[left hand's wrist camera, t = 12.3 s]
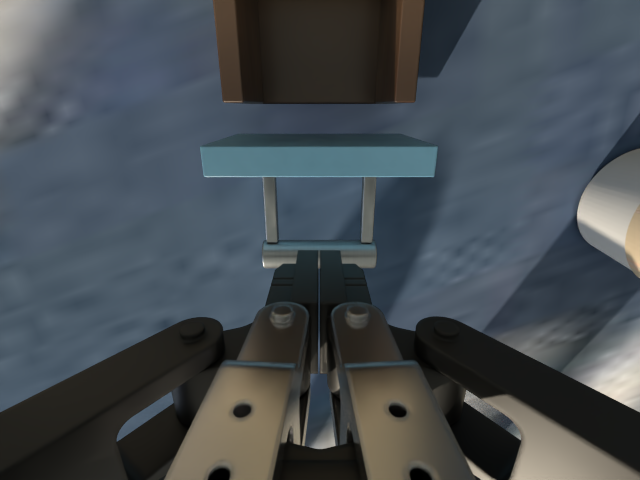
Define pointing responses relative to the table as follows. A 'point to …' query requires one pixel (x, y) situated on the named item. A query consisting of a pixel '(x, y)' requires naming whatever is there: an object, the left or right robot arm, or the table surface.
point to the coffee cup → (614, 211)
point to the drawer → (319, 101)
